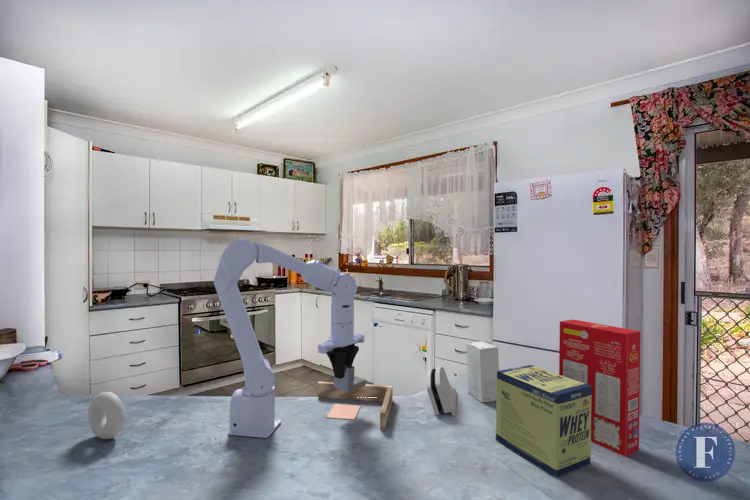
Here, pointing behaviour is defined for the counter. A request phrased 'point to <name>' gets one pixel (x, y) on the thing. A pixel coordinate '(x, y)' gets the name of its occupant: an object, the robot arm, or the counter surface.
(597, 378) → the food packaging
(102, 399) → the donut
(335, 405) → the flat panel
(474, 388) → the skincare box
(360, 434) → the counter surface
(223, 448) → the counter surface
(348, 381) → the bracket
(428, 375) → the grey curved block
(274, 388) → the robot arm
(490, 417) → the counter surface
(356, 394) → the wooden corner frame
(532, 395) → the protein box
